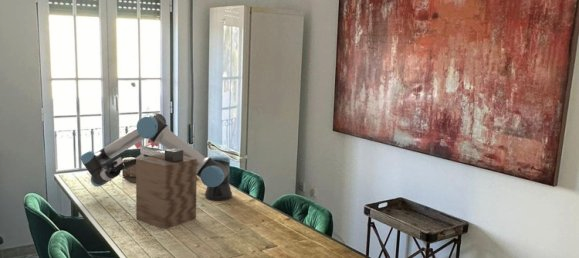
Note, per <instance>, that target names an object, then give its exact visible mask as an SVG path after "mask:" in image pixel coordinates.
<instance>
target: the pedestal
mask: <svg viewBox="0 0 579 258" xmlns="http://www.w3.org/2000/svg"><path fill="white" fill-rule="evenodd" d="M135 172H136V173H135V178H136V179H135V185H136V186H135V187H136V188H135V191H136V193H135V198H136V199H135V203H136V204H135V206H136V208H135V209H136V212H135V213H136V215H135V218H136V220H137V221H140V222H142V223H146V224H148V225H151V226H153V227H156V228H159V229H163V230H166V229H170V228H172V227H175V226H178V225H181V224H183V223H187V222H190V221H194V220H195V219H197V185H198V184H197V180H198V179H197V159H195V158H190V157H186V156H183V161H178V162H169V161H165V159H161V158H157V157H153V156H149V155H147V156H144V157H142V158H137V159H136V165H135Z"/></svg>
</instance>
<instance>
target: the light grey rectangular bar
mask: <svg viewBox="0 0 579 258" xmlns="http://www.w3.org/2000/svg"><path fill="white" fill-rule="evenodd" d="M139 149H140V150H139V151H140V155H141V154H144V156H145V155H146V156H153V157H157V158H161V159H165V161H169V162H178V161H183V150H180V149H176V148H173V149H165V150H162V149H157V148H154V147H153V148H152V147H148V146H146V147H144V146H143V147H142V146H140V147H139Z"/></svg>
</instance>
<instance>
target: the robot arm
mask: <svg viewBox="0 0 579 258" xmlns="http://www.w3.org/2000/svg"><path fill="white" fill-rule="evenodd" d="M145 139H146V140H149V139H150V140H151V141H153V142H154V143H158V144H160V145H161V146H163V148H165V149H166V150H168V149H173V148H176V149H180V150H183V156H186V157H190V158H195V159H197V176H198V177H199V178H200V180H201V183H202V184H203V185H204V186H205V187H206V190H205V192H204V197H205V199H207V200H211V201H225V200H230V199H232V198H233V192H232V190H231V184H230V164H231V159H230V158H229V157H227V156H208V157H205V156H204V155H202V154H201V153H200V152H199V151H197V150H196V149H195V148H193V147H192V146H191V145H190V144H189V143H187V142H186V141H184V140H183V139H182V138H181V137H179V136H178V135H176V134H175V133H174V132H173V131H171V130H170V126H169V125H168V124H167V120H166V118H165V116H164V115H163V114H161V113H159V112H153V113H150V114H146V115H143V116H142V117H141V118H139V120H138V121H137V123H136V127H135V128H134V129H132V130H130V131H128V132H127V133H126V134H124V135H122V136H120V137H119V138H118V139H116V140H114V141H112V142H111V143H110V144H108V145H106V146H105V147H103V148H101V149H100V150H98V151H96V152H94V151H93V150H88V151H86V152H85V153H83V154H82V155H81V156H80V158H79V159H80V161H81V163H82V165H83V166H84V167H85V169H86V170H87V172H89V174H90V176H91V177H90V183H91V185H92V186H94V187H98V188H99V187H102V186H104V185H105V184H108V183H109V182H111V181H112V180H113V179H115V178H117V177H118V176H119V175H121V172H122V171H123V170H127V169H129V168H131V167H134V166H136V159H137V158H142V157H145V154H141V153H140V154H139V155H137V156H136V157H135V158H132V159H131V160H128V161H123V159H122V157H121V156H120V157H118V158H117V159H115V160H113V161H112V162H109V161H111V160H112V159H113V158H115V157H117V156H119V155H120V154H122V153H123V152H125V151H127V150H128V149H129V148H131V147H134V146H135V144H136V143H138V142H140V141H141V142H142V141H143V140H145ZM108 162H109V163H108ZM104 164H106V165H105V166H103V165H104Z"/></svg>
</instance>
